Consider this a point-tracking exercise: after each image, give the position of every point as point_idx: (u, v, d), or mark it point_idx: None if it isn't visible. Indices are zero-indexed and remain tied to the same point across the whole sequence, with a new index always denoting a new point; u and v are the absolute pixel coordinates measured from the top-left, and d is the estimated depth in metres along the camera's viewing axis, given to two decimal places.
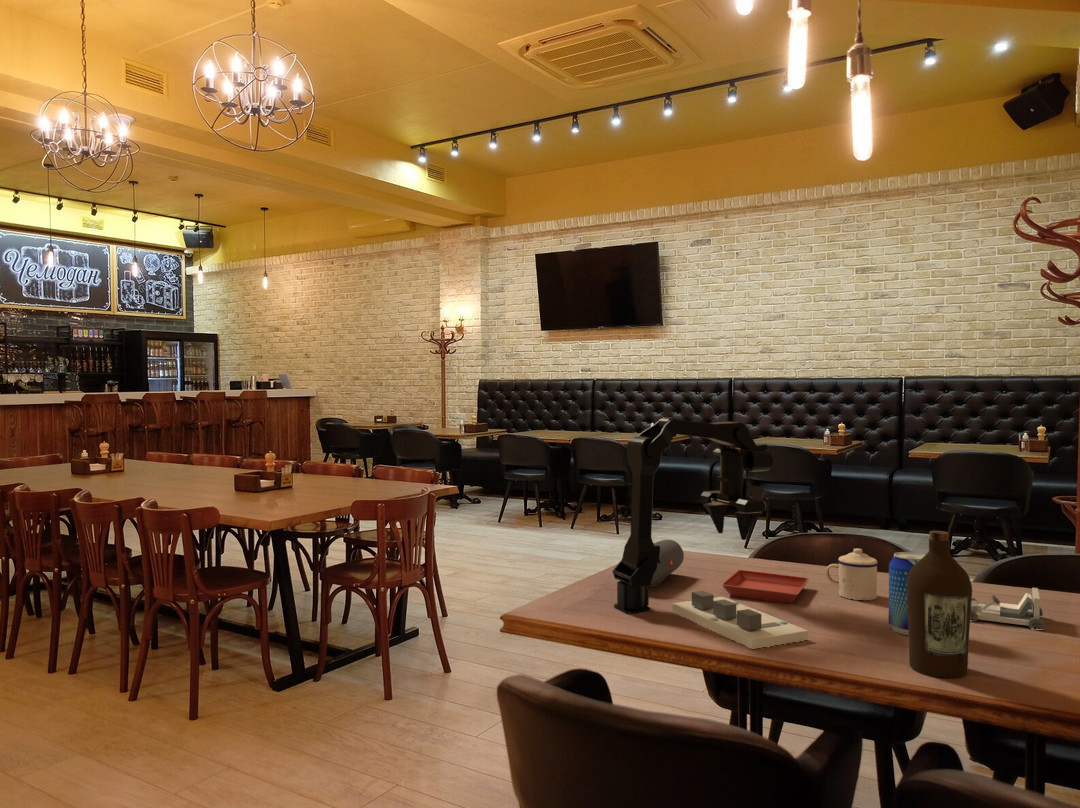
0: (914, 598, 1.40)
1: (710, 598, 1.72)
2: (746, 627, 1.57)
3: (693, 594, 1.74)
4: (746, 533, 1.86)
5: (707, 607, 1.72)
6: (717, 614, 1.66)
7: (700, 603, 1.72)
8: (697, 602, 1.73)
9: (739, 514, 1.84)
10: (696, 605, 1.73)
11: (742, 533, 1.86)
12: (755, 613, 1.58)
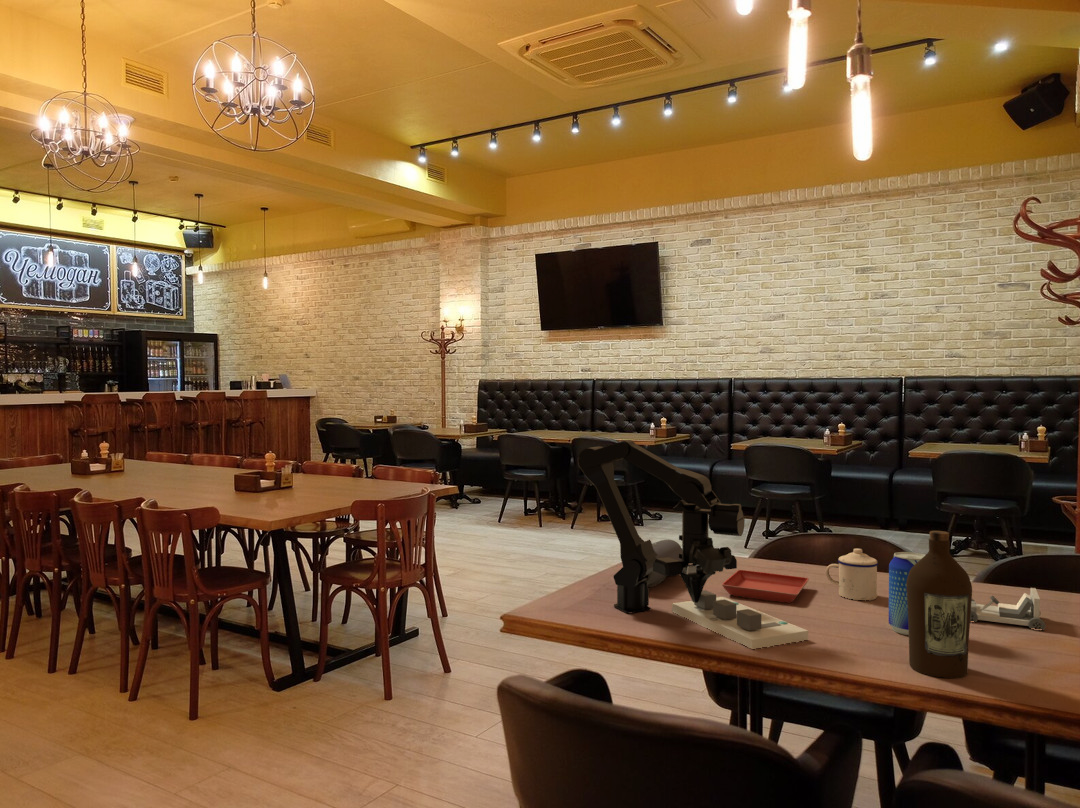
0: (914, 598, 1.40)
1: (713, 598, 1.72)
2: (746, 627, 1.57)
3: None
4: (692, 595, 1.72)
5: (710, 607, 1.72)
6: (717, 614, 1.66)
7: (703, 603, 1.72)
8: (700, 602, 1.73)
9: None
10: (699, 605, 1.73)
11: None
12: (755, 613, 1.58)
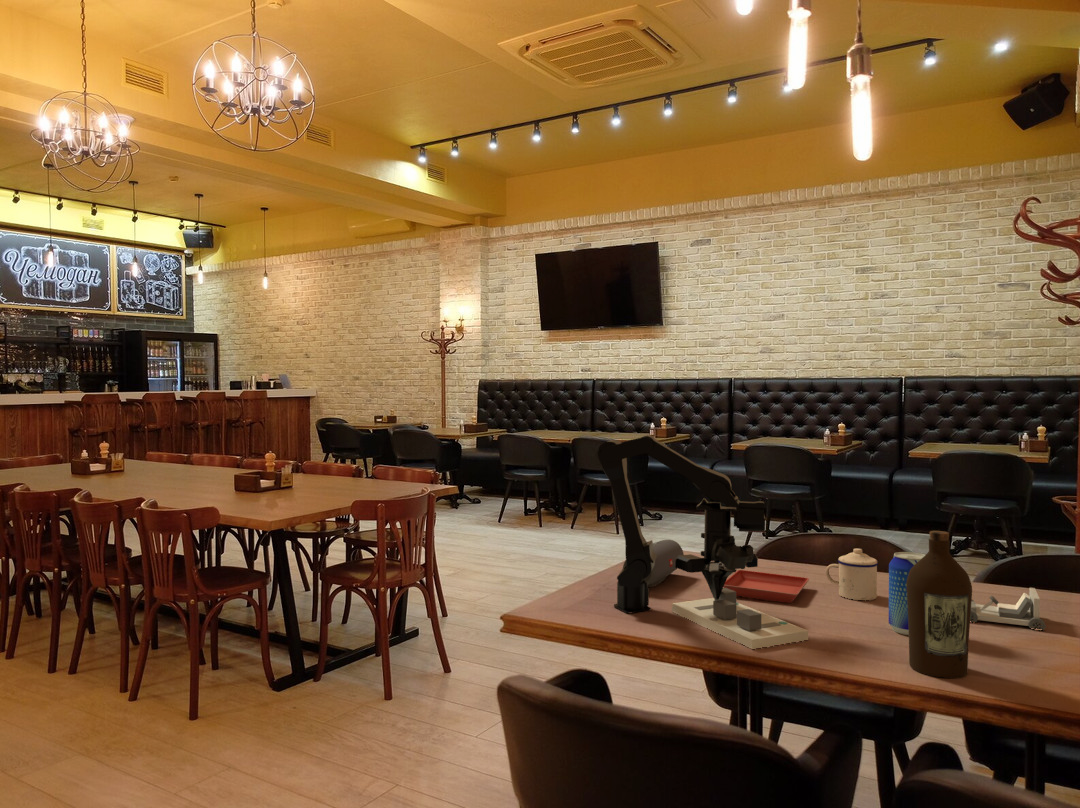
0: (914, 598, 1.40)
1: (733, 595, 1.74)
2: (746, 627, 1.57)
3: None
4: (714, 592, 1.74)
5: None
6: (717, 614, 1.66)
7: None
8: (720, 599, 1.75)
9: None
10: None
11: (711, 591, 1.75)
12: (755, 613, 1.58)
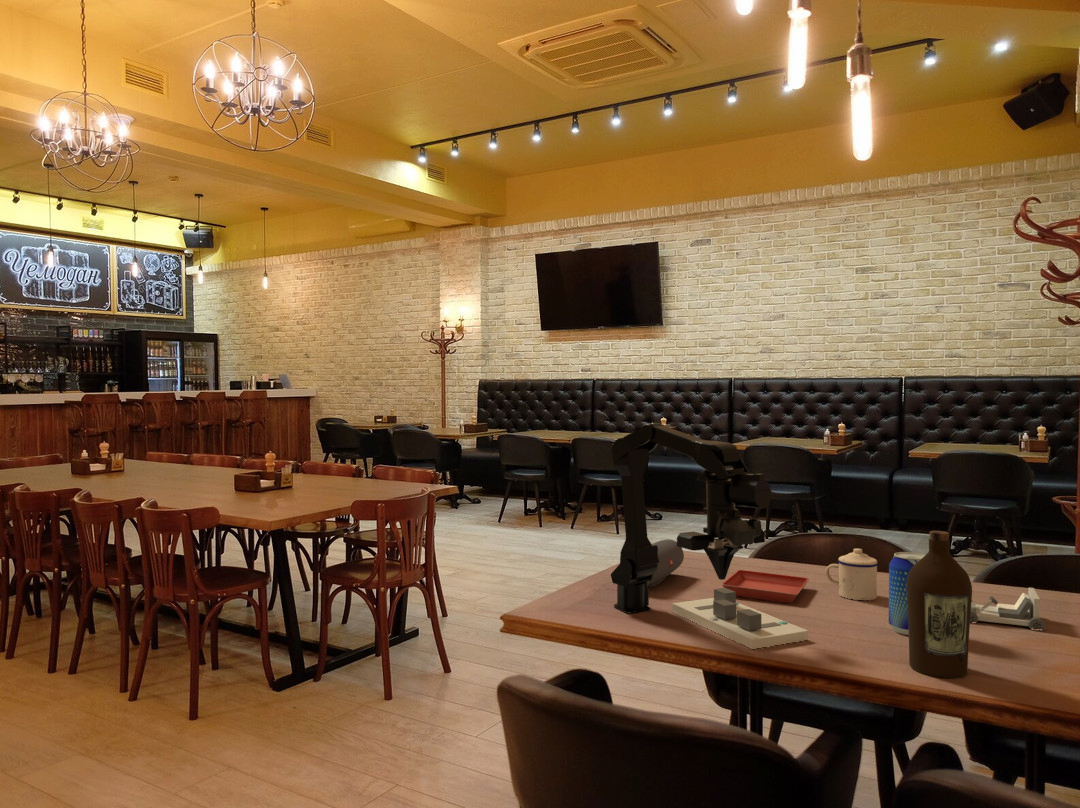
0: (914, 598, 1.40)
1: (732, 595, 1.74)
2: (746, 627, 1.57)
3: (715, 591, 1.76)
4: (719, 572, 1.60)
5: None
6: (717, 614, 1.66)
7: None
8: (719, 599, 1.75)
9: None
10: None
11: (715, 570, 1.61)
12: (755, 613, 1.58)
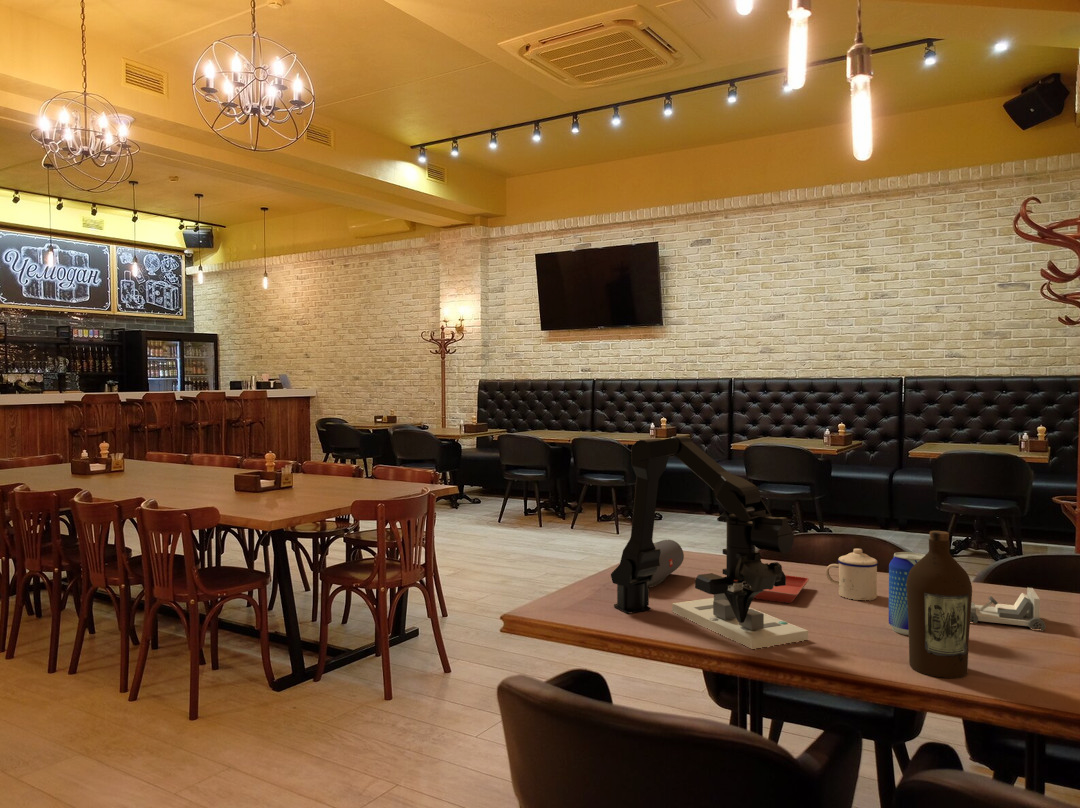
0: (914, 598, 1.40)
1: None
2: (748, 627, 1.58)
3: None
4: (738, 615, 1.57)
5: None
6: (717, 614, 1.66)
7: None
8: (719, 599, 1.75)
9: None
10: None
11: (734, 613, 1.58)
12: (757, 613, 1.58)
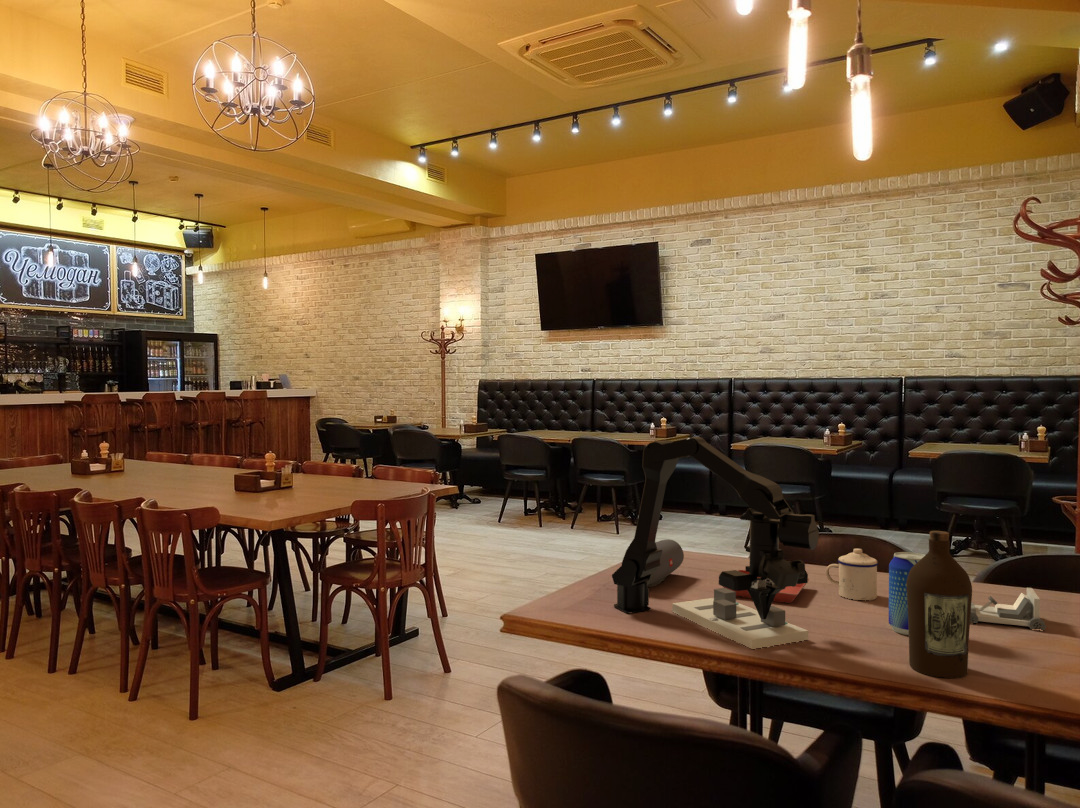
0: (914, 598, 1.40)
1: (732, 595, 1.74)
2: (770, 623, 1.60)
3: (715, 591, 1.76)
4: (761, 611, 1.60)
5: None
6: (717, 614, 1.66)
7: None
8: (719, 599, 1.75)
9: None
10: None
11: (757, 610, 1.61)
12: (779, 609, 1.61)
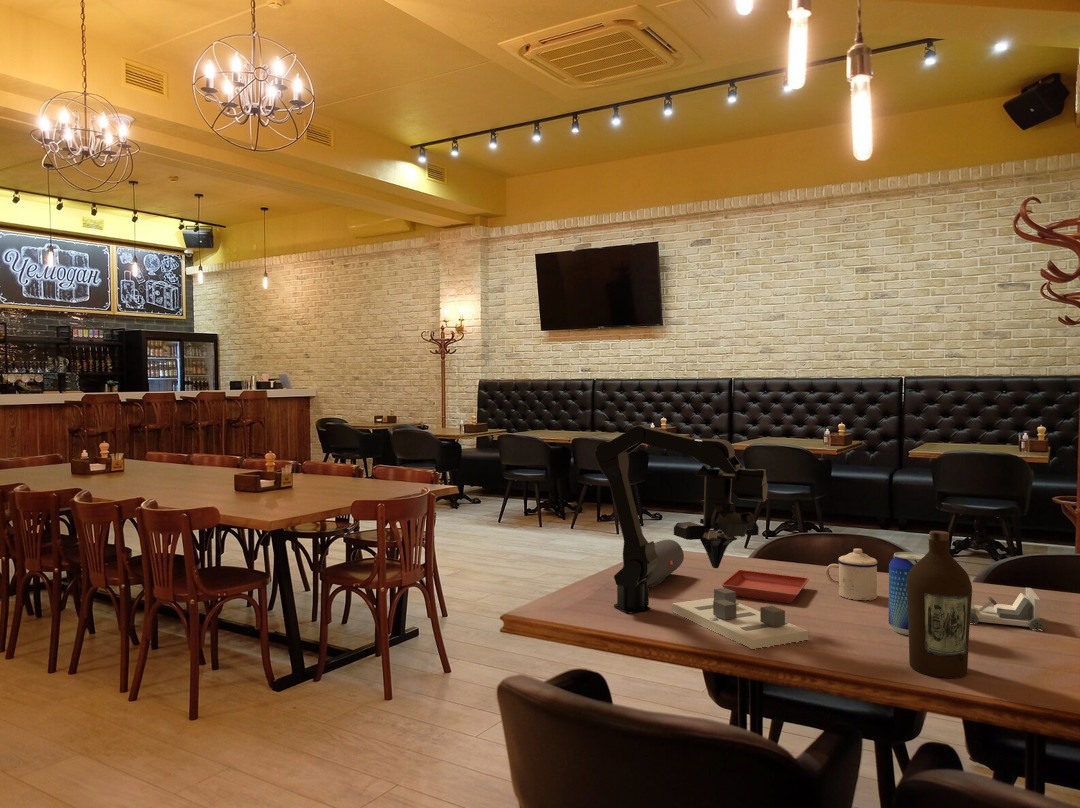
0: (914, 598, 1.40)
1: (732, 595, 1.74)
2: (770, 623, 1.60)
3: (715, 591, 1.76)
4: (713, 561, 1.71)
5: None
6: (717, 614, 1.66)
7: None
8: (719, 599, 1.75)
9: None
10: None
11: (710, 559, 1.72)
12: (779, 610, 1.61)
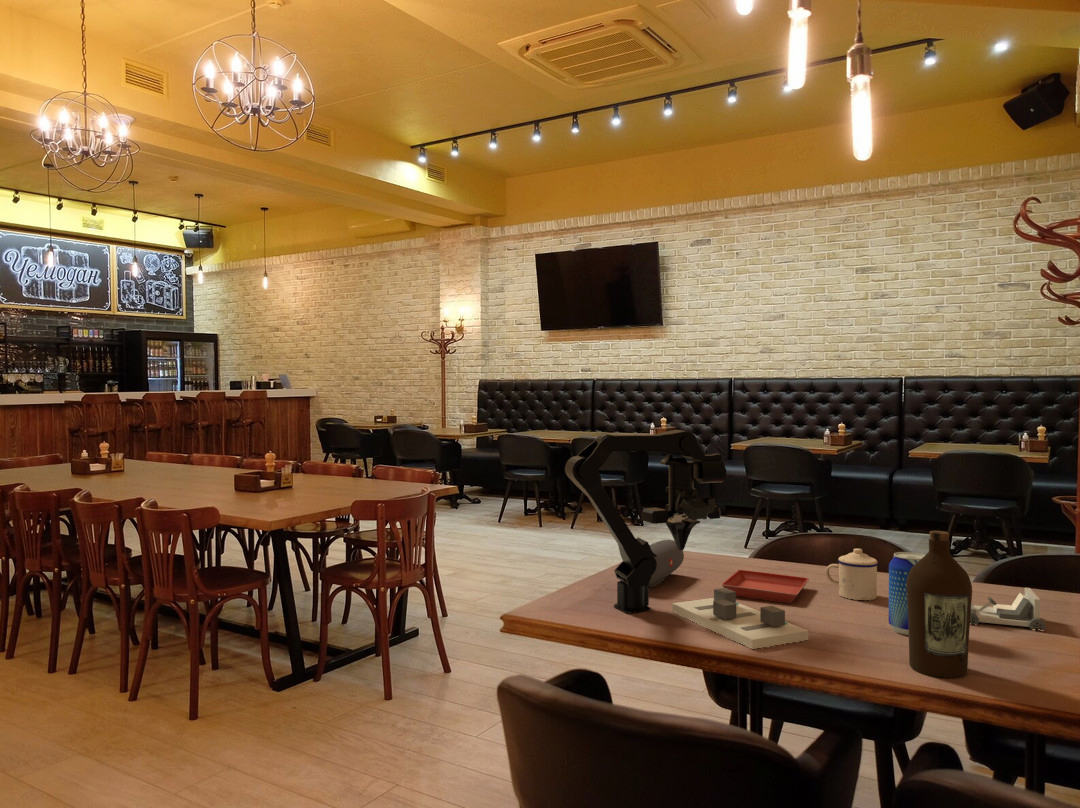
0: (914, 598, 1.40)
1: (732, 595, 1.74)
2: (770, 623, 1.60)
3: (715, 591, 1.76)
4: (678, 543, 1.82)
5: None
6: (717, 614, 1.66)
7: None
8: (719, 599, 1.75)
9: None
10: None
11: (675, 542, 1.83)
12: (779, 610, 1.61)
